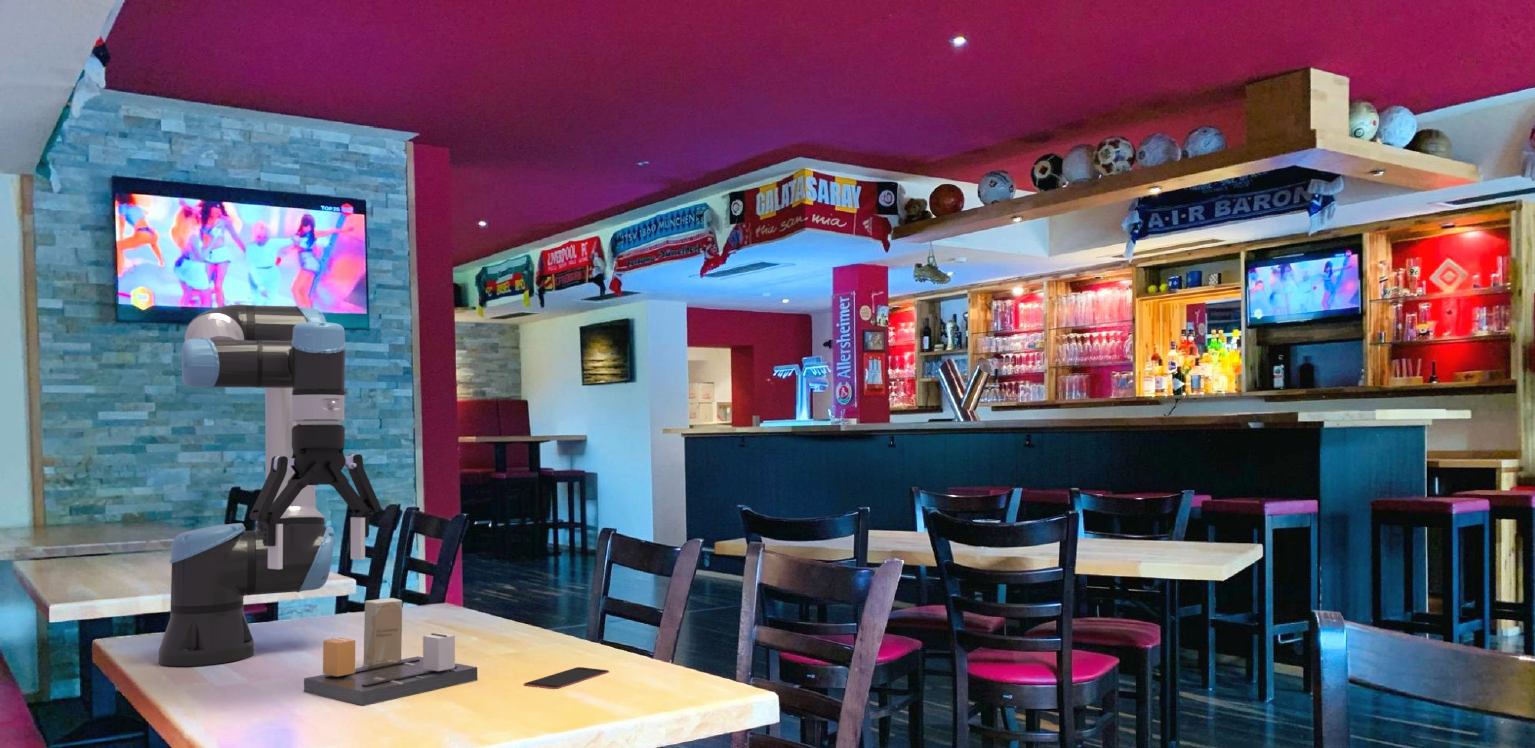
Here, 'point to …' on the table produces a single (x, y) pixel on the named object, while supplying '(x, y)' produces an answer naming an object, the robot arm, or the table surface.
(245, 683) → the table surface
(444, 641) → the fader grey
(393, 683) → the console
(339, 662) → the fader orange
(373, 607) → the box
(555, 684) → the smartphone
